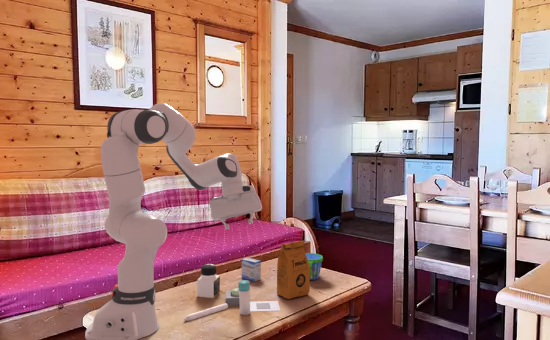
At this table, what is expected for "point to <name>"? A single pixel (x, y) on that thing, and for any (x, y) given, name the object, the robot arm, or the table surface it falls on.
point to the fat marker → (244, 297)
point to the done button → (235, 292)
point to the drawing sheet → (264, 306)
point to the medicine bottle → (208, 282)
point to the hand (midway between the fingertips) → (239, 226)
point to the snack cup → (314, 265)
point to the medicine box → (251, 269)
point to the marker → (206, 312)
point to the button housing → (231, 298)
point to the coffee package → (293, 271)
